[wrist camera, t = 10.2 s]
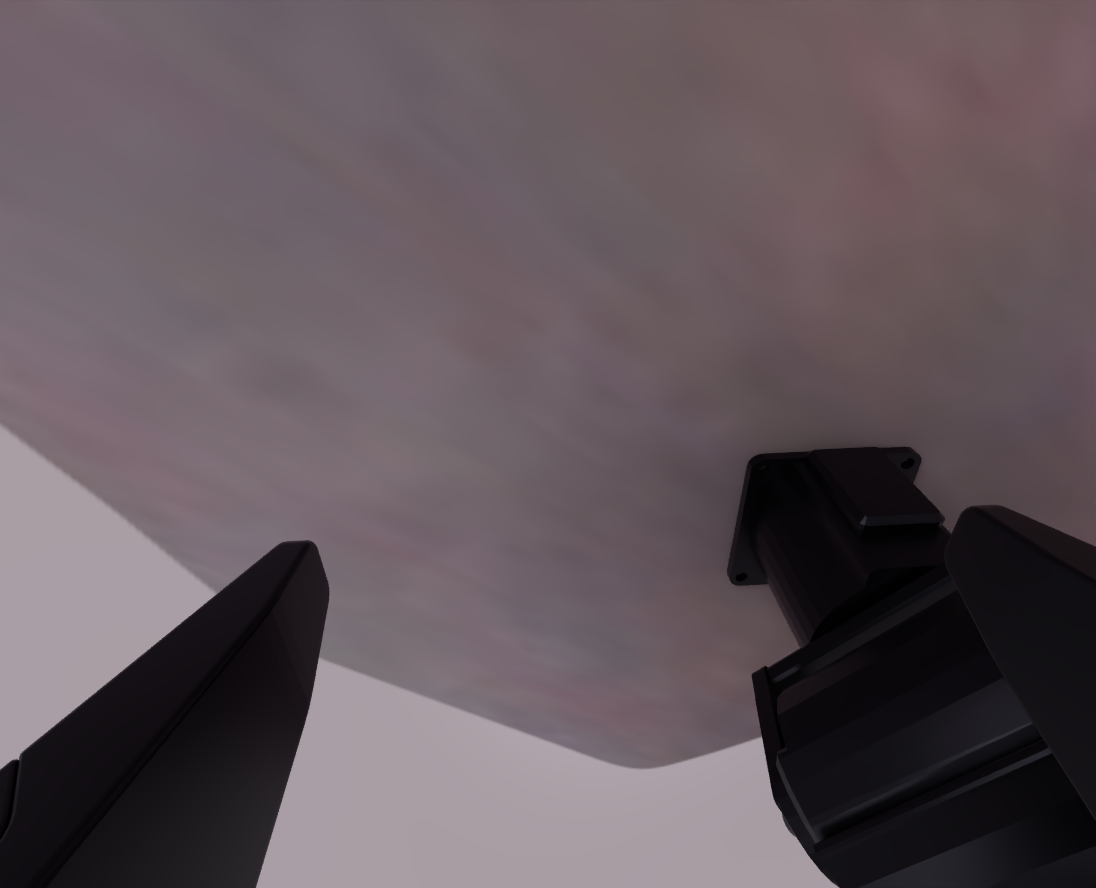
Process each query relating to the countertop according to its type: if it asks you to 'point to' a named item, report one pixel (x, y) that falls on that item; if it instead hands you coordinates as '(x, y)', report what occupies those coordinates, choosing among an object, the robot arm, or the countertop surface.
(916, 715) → the robot arm
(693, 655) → the countertop surface
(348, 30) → the countertop surface
